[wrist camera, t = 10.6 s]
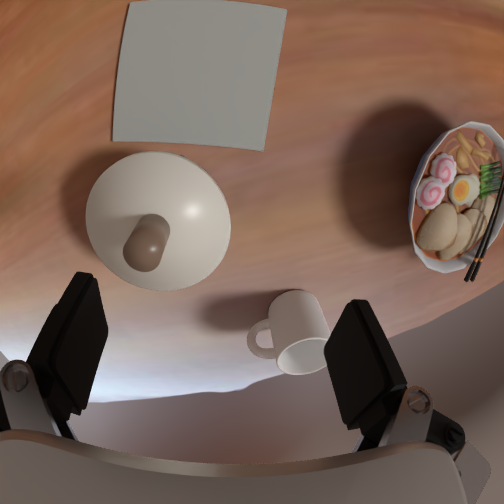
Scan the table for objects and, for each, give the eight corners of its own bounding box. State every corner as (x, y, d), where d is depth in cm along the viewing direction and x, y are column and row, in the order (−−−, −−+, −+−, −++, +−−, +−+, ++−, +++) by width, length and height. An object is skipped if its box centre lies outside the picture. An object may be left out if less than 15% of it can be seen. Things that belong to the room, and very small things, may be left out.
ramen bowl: (399, 83, 27) (439, 86, 20) (495, 130, 30) (529, 144, 23) (362, 251, 40) (386, 284, 33) (458, 256, 43) (483, 281, 36)
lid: (84, 150, 24) (54, 166, 18) (239, 156, 26) (242, 172, 21) (98, 279, 32) (81, 311, 26) (223, 290, 34) (223, 326, 29)
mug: (248, 333, 47) (254, 383, 38) (239, 297, 42) (243, 350, 34) (317, 320, 47) (334, 367, 38) (317, 283, 42) (337, 331, 33)
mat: (131, 3, 20) (130, 2, 19) (286, 10, 22) (287, 9, 22) (113, 141, 29) (112, 141, 28) (263, 150, 31) (263, 151, 31)
